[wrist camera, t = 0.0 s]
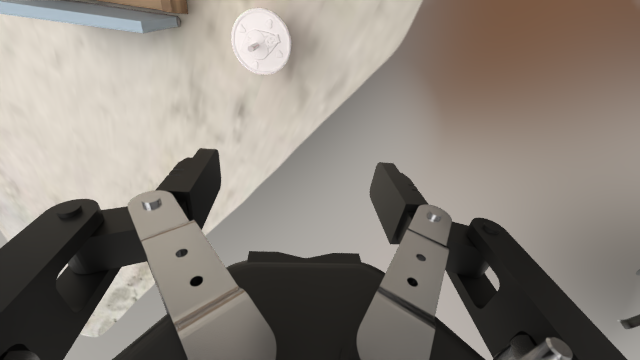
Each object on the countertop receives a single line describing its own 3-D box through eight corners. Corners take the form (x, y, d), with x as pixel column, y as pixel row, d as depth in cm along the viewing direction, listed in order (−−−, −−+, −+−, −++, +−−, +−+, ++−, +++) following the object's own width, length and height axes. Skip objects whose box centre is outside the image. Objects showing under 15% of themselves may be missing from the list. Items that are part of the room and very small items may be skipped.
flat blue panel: (65, -1, 30) (-18, -3, 22) (179, 15, 32) (140, 20, 24) (70, 11, 31) (-9, 14, 23) (181, 27, 33) (143, 35, 25)
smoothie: (237, 19, 33) (206, 17, 21) (283, 4, 32) (276, -6, 21) (256, 69, 36) (238, 91, 25) (298, 56, 36) (299, 72, 24)
